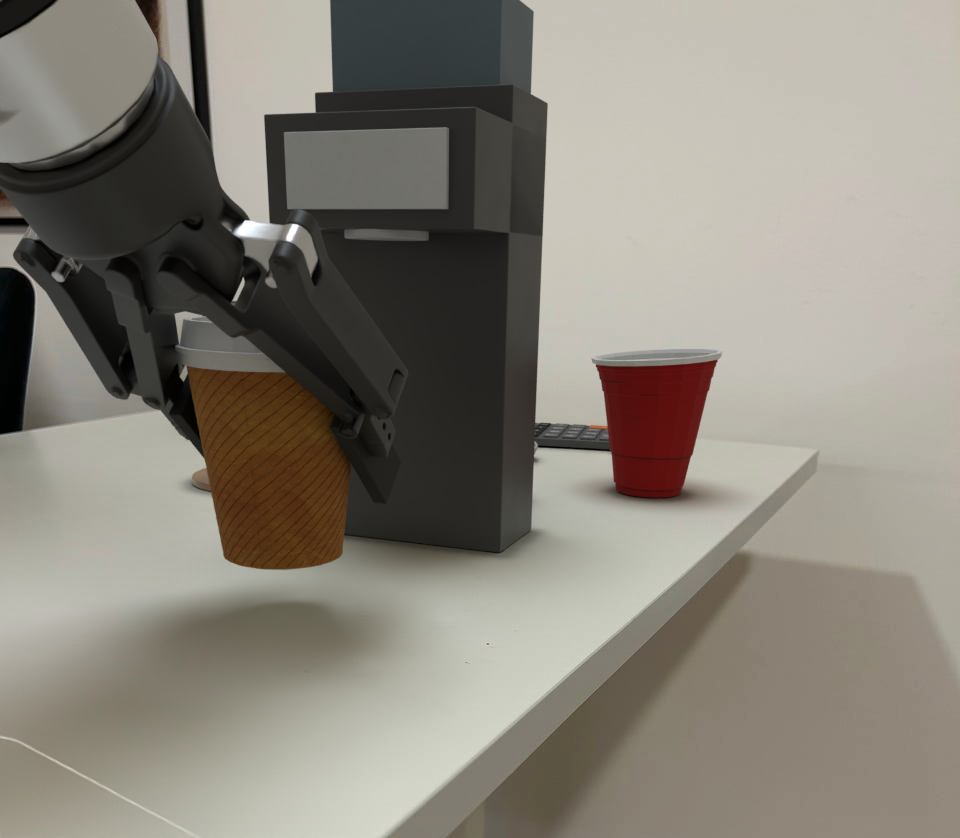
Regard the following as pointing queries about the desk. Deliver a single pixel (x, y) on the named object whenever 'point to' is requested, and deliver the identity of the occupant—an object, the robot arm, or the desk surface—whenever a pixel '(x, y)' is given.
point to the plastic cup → (654, 415)
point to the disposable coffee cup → (265, 454)
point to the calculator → (572, 435)
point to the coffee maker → (434, 247)
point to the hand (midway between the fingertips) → (312, 474)
